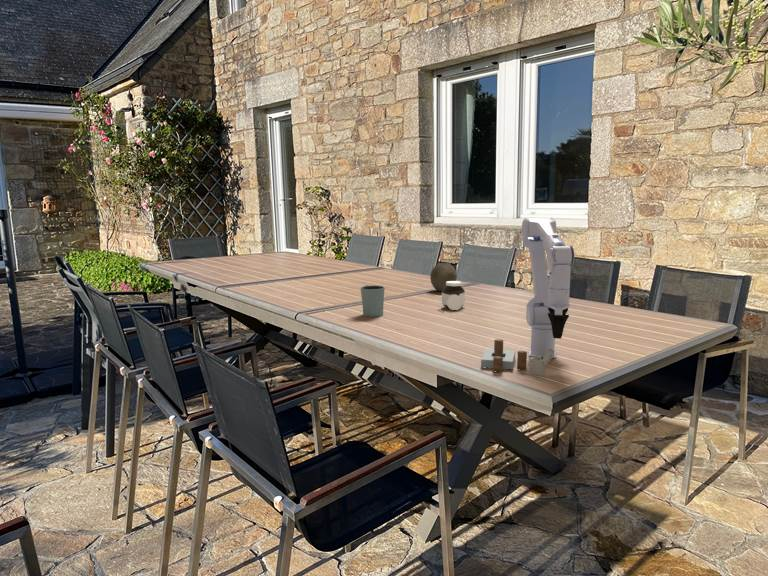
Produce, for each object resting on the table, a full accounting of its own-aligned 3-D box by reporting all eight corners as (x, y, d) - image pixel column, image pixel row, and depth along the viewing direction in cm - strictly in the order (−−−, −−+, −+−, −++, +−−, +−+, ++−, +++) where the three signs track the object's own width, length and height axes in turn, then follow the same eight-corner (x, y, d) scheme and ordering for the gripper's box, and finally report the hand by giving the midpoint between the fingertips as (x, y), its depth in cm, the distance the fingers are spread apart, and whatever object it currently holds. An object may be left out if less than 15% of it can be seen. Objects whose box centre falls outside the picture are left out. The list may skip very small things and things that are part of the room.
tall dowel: (494, 361, 172) (495, 339, 171) (503, 362, 171) (503, 339, 170) (493, 363, 169) (493, 341, 168) (502, 364, 168) (502, 341, 167)
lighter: (528, 372, 161) (529, 345, 159) (532, 371, 162) (533, 344, 161) (550, 378, 155) (551, 350, 154) (554, 377, 157) (555, 349, 155)
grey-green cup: (388, 313, 243) (388, 286, 242) (378, 318, 234) (378, 289, 232) (367, 311, 248) (367, 284, 246) (356, 316, 239) (356, 288, 237)
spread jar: (456, 305, 262) (456, 280, 260) (472, 309, 253) (473, 283, 251) (435, 308, 256) (436, 282, 254) (452, 312, 246) (452, 285, 244)
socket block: (485, 356, 177) (485, 348, 177) (515, 358, 175) (515, 350, 174) (480, 367, 166) (481, 359, 165) (512, 370, 163) (512, 361, 163)
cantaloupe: (427, 292, 296) (427, 264, 294) (433, 288, 309) (433, 261, 307) (454, 294, 292) (454, 265, 289) (459, 289, 305) (459, 262, 303)
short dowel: (493, 369, 164) (493, 356, 163) (502, 370, 163) (503, 356, 163) (492, 372, 162) (493, 358, 161) (501, 372, 161) (502, 359, 160)
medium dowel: (517, 367, 166) (517, 350, 165) (526, 367, 165) (527, 351, 164) (516, 369, 163) (517, 352, 163) (526, 370, 163) (526, 353, 162)
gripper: (544, 284, 169) (543, 328, 171) (544, 291, 155) (542, 340, 157) (569, 284, 167) (567, 329, 169) (571, 292, 153) (569, 341, 155)
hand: (557, 335), depth 163 cm, fingers open, 7 cm apart
